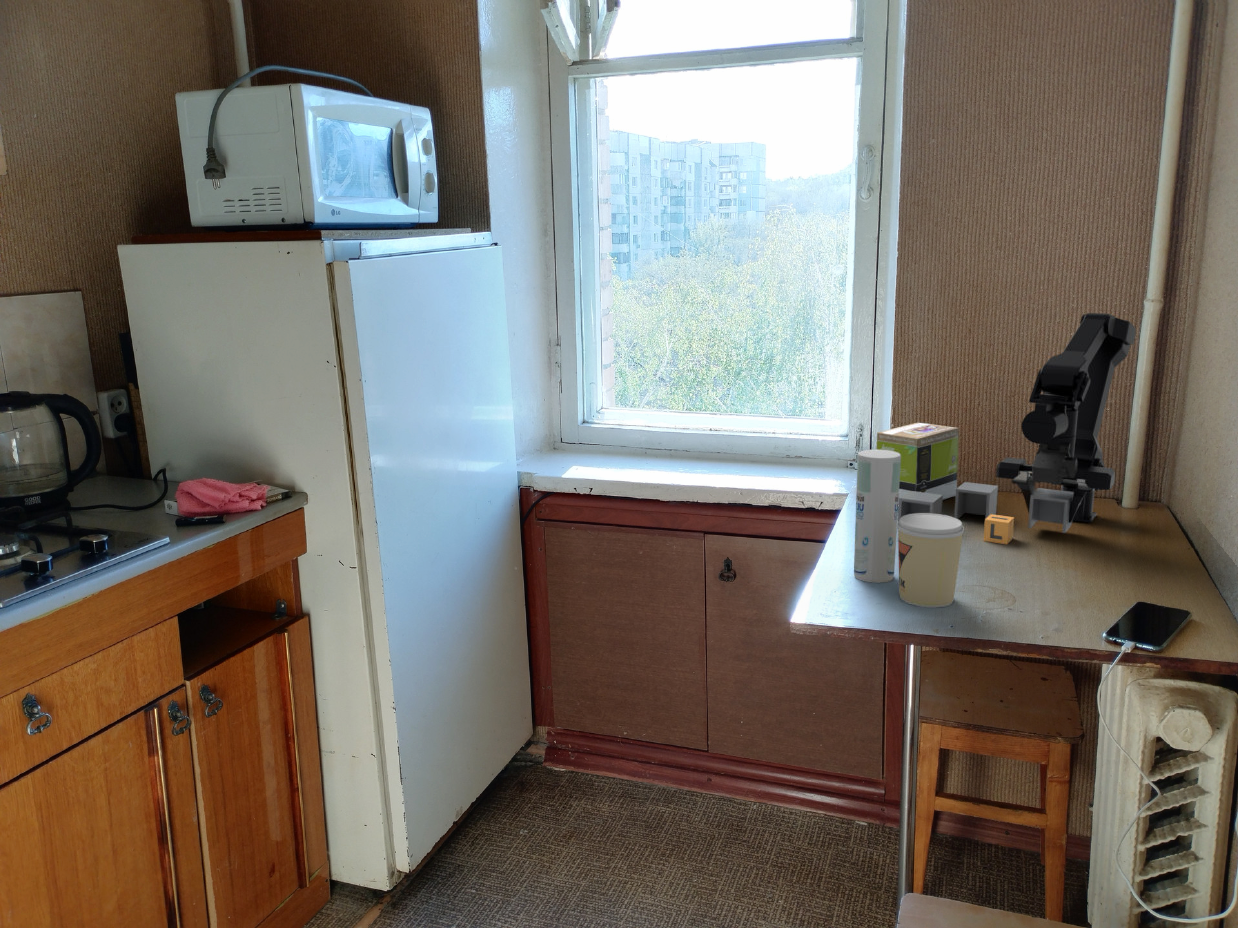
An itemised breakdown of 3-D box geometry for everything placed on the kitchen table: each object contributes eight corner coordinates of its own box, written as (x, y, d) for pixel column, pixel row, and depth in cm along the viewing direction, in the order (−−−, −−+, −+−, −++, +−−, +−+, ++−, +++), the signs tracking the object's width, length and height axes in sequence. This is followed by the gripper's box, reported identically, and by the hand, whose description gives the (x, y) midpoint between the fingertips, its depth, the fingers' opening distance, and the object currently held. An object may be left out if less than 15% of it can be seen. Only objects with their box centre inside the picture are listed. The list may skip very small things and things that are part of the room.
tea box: (915, 488, 208) (919, 420, 205) (957, 497, 200) (962, 427, 197) (872, 500, 199) (876, 430, 195) (915, 510, 191) (919, 437, 188)
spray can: (898, 583, 151) (904, 458, 146) (855, 582, 151) (860, 458, 147) (890, 569, 157) (896, 449, 153) (850, 569, 158) (854, 449, 153)
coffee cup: (897, 584, 150) (900, 510, 148) (960, 591, 147) (965, 515, 144) (890, 605, 142) (894, 526, 139) (957, 613, 139) (963, 532, 136)
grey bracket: (1035, 519, 178) (1037, 487, 177) (1071, 524, 175) (1074, 492, 174) (1027, 527, 173) (1030, 495, 172) (1065, 533, 170) (1068, 500, 169)
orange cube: (989, 535, 175) (990, 513, 174) (1012, 538, 172) (1014, 517, 171) (983, 541, 171) (984, 519, 170) (1006, 544, 169) (1008, 522, 168)
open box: (963, 511, 190) (964, 481, 188) (995, 516, 186) (998, 485, 185) (954, 519, 185) (956, 488, 183) (987, 523, 181) (990, 493, 180)
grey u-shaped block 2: (908, 521, 184) (909, 490, 182) (941, 526, 180) (942, 494, 179) (897, 529, 179) (899, 498, 177) (931, 534, 175) (932, 502, 174)
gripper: (991, 437, 169) (985, 522, 172) (1109, 448, 159) (1100, 539, 162) (1006, 426, 178) (1000, 508, 181) (1119, 436, 168) (1110, 522, 171)
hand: (1050, 519), depth 174 cm, fingers closed on grey bracket, 6 cm apart
